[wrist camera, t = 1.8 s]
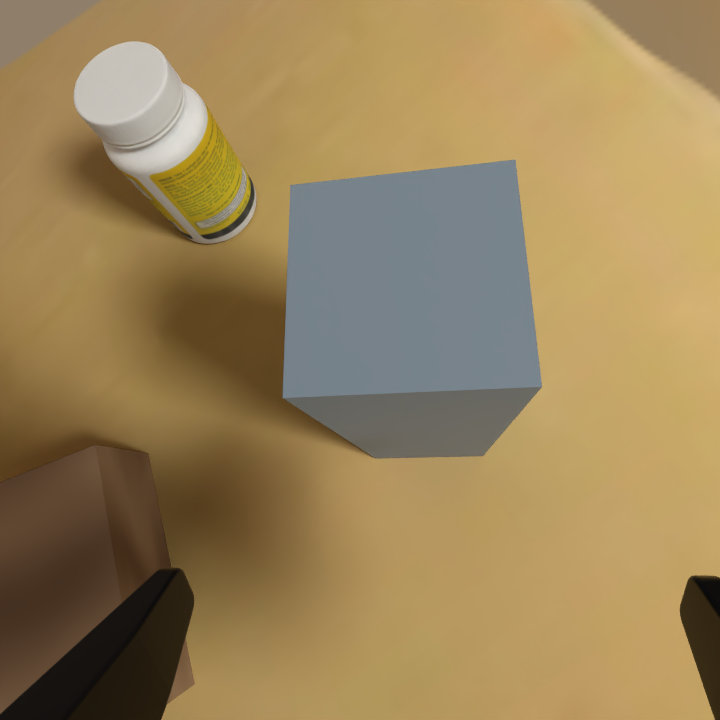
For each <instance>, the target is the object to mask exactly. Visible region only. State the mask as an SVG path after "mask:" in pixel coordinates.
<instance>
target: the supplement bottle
mask: <svg viewBox="0 0 720 720" xmlns="http://www.w3.org/2000/svg"><path fill="white" fill-rule="evenodd" d="M74 103H75V107H76V109H77V111H78V113H79V115H80V116H81V117H82V118H83V119H84V120H85V122H86V123H87V124H88V125H89V126H90V127H91V128H92V129H93V131H94V132H95V133H96V134H97V135H98V136H99V137H100V138H101V139H102V140H103V145H104V149H105V151H106V153H107V155H108V157H109V159H110V160H111V161H112V162H113V164H114V165H115V166H116V167H117V168H118V169H119V170H120V171H121V172H122V173H123V174H124V175H125V176H126V177H127V178H128V179H129V180H130V181H131V182H132V183H133V185H134V186H135V187H136V188H137V189H138V190H139V191H140V192H141V193H142V194H143V195H144V196H145V197H146V198H147V199H148V200H149V201H150V202H151V203H152V204H153V205H154V206H155V207H156V208H157V209H158V210H159V211H160V212H161V213H162V214H163V215H164V216H165V217H166V218H167V219H168V220H169V221H170V222H171V223H172V224H173V225H174V226H175V228H176V229H178V230H179V231H180V232H181V233H182V234H183V235H184V236H185V237H187V238H188V239H190V240H192V241H194V242H197V243H203V244H213V243H219V242H223V241H226V240H228V239H231V238H232V237H234V236H236V235H237V234H238V233H240V232H241V231H242V230H243V229H244V228H245V227H246V226H247V224H248V223H249V221H250V220H251V218H252V216H253V214H254V211H255V207H256V199H257V198H256V191H255V187H254V185H253V183H252V181H251V179H250V177H249V175H248V174H247V172H246V171H245V169H244V167H243V166H242V164H241V162H240V161H239V159H238V157H237V156H236V154H235V152H234V151H233V149H232V148H231V146H230V144H229V143H228V141H227V139H226V137H225V136H224V134H223V133H222V131H221V129H220V128H219V126H218V124H217V123H216V121H215V119H214V118H213V116H212V114H211V113H210V111H209V109H208V107H207V106H206V104H205V103H204V101H203V100H202V99H201V97H200V96H199V95H198V94H197V93H196V92H195V91H194V90H193V89H192V88H191V87H189V86H188V85H186V84H184V83H182V82H181V79H180V77H179V75H178V74H177V73H176V72H175V70H174V69H173V68H172V66H171V65H170V63H169V62H168V61H167V59H166V58H165V56H164V55H163V54H162V53H161V51H159V50H158V49H157V48H156V47H154V46H152V45H150V44H148V43H144V42H136V41H134V42H125V43H120V44H118V45H114V46H112V47H110V48H108V49H106V50H104V51H103V52H101V53H100V54H98V55H97V56H96V57H94V58H93V59H92V60H91V61H90V62H89V63H88V64H87V65H86V67H85V68H84V69H83V70H82V72H81V74H80V75H79V77H78V79H77V82H76V85H75V89H74Z"/></svg>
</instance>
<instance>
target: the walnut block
mask: <svg viewBox="0 0 720 720" xmlns="http://www.w3.org/2000/svg"><path fill="white" fill-rule="evenodd" d="M161 568H171V564H170V559H169V554H168V549H167V544H166V539H165V534H164V529H163V525H162V520H161V515H160V510H159V505H158V500H157V495H156V490H155V485H154V480H153V475H152V470H151V465H150V460H149V455H148V453H143V452H137V451H131V450H125V449H119V448H113V447H107V446H101V445H93V446H91V447H88V448H86V449H83V450H81V451H78V452H76V453H73V454H71V455H68V456H65V457H63V458H60V459H58V460H55V461H53V462H50V463H48V464H45V465H43V466H40V467H38V468H35V469H33V470H30V471H28V472H25V473H23V474H20V475H18V476H15V477H12V478H10V479H7V480H5V481H2V482H0V713H2V712H3V711H4V710H5V709H6V708H7V707H8V706H9V705H10V704H11V703H12V702H14V701H15V700H16V699H17V698H18V697H19V696H20V695H21V694H22V693H23V692H25V691H26V690H27V689H28V688H29V687H30V686H31V685H32V684H33V683H34V682H35V681H37V680H38V679H39V678H40V677H41V676H42V675H43V674H44V673H45V672H46V671H48V670H49V669H50V668H51V667H52V666H53V665H54V664H55V663H56V662H57V661H58V660H60V659H61V658H62V657H63V656H64V655H65V654H66V653H67V652H68V651H69V650H71V649H72V648H73V647H74V646H75V645H76V644H77V643H78V642H79V641H80V640H81V639H83V638H84V637H85V636H86V635H87V634H88V633H89V632H90V631H91V630H92V629H94V628H95V627H96V626H97V625H98V624H99V623H100V622H101V621H102V620H103V619H104V618H106V617H107V616H108V615H109V614H110V613H111V612H112V611H113V610H114V609H115V608H117V607H118V606H119V605H120V604H121V603H122V602H123V601H124V600H125V599H126V598H127V597H129V596H130V595H131V594H132V593H133V592H134V591H135V590H136V589H137V588H138V587H140V586H141V585H142V584H143V583H144V582H145V581H146V580H147V579H148V578H149V577H150V576H152V575H153V574H154V573H155V572H156V571H158V570H159V569H161ZM194 684H195V683H194V678H193V673H192V668H191V663H190V658H189V653H188V648H187V643H186V638H185V642H184V645H183V649H182V653H181V657H180V661H179V664H178V668H177V672H176V676H175V679H174V683H173V686H172V690H171V693H170V696H169V699H168V702H167V704H168V703H169V702H171V701H172V700H173V699H175V698H176V697H178V696H179V695H180V694H182V693H183V692H184V691H186V690H187V689H189V688H190V687H191V686H193V685H194Z"/></svg>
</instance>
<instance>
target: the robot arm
mask: <svg viewBox="0 0 720 720" xmlns="http://www.w3.org/2000/svg"><path fill="white" fill-rule="evenodd" d="M193 607H194V595H193V592H192V590H191V587H190V585H189V583H188V580H187V578H186V576H185V574H184V572H183V570H181V569H180V568H161V569H159V570H158V571H156V572H155V573H154V574H153V575H152V576H150V577H149V578H148V579H147V580H146V581H145V582H144V583H143V584H142V585H141V586H140V587H138V588H137V589H136V590H135V591H134V592H133V593H132V594H131V595H130V596H129V597H127V598H126V599H125V600H124V601H123V602H122V603H121V604H120V605H119V606H118V607H117V608H115V609H114V610H113V611H112V612H111V613H110V614H109V615H108V616H107V617H106V618H104V619H103V620H102V621H101V622H100V623H99V624H98V625H97V626H96V627H95V628H94V629H92V630H91V631H90V632H89V633H88V634H87V635H86V636H85V637H84V638H83V639H81V640H80V641H79V642H78V643H77V644H76V645H75V646H74V647H73V648H72V649H71V650H69V651H68V652H67V653H66V654H65V655H64V656H63V657H62V658H61V659H60V660H58V661H57V662H56V663H55V664H54V665H53V666H52V667H51V668H50V669H49V670H48V671H46V672H45V673H44V674H43V675H42V676H41V677H40V678H39V679H38V680H37V681H35V682H34V683H33V684H32V685H31V686H30V687H29V688H28V689H27V690H26V691H25V692H23V693H22V694H21V695H20V696H19V697H18V698H17V699H16V700H15V701H14V702H12V703H11V704H10V705H9V706H8V707H7V708H6V709H5V710H4V711H3V712H2V713H0V720H161V719H162V716H163V713H164V710H165V708H166V705H167V702H168V699H169V696H170V693H171V690H172V686H173V683H174V679H175V676H176V672H177V668H178V664H179V661H180V657H181V653H182V649H183V645H184V642H185V638H186V634H187V630H188V626H189V623H190V619H191V615H192V611H193ZM680 616H681V620H682V624H683V627H684V630H685V633H686V636H687V638H688V641H689V644H690V647H691V650H692V653H693V656H694V659H695V662H696V665H697V668H698V671H699V674H700V677H701V680H702V683H703V686H704V689H705V692H706V695H707V698H708V701H709V704H710V707H711V710H712V712H713V715H714V718H715V720H720V578H719V577H717V576H691V577H690V578H689V579H688V581H687V585H686V588H685V591H684V594H683V598H682V601H681V604H680Z"/></svg>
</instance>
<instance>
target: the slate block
mask: <svg viewBox="0 0 720 720" xmlns="http://www.w3.org/2000/svg"><path fill="white" fill-rule="evenodd" d="M541 387H542V383H541V375H540V366H539V358H538V349H537V340H536V332H535V323H534V315H533V306H532V298H531V289H530V281H529V272H528V264H527V255H526V247H525V238H524V230H523V221H522V212H521V204H520V195H519V187H518V178H517V170H516V161H515V160H509V161H500V162H491V163H482V164H473V165H465V166H456V167H447V168H438V169H429V170H420V171H412V172H403V173H394V174H385V175H376V176H367V177H358V178H350V179H341V180H332V181H323V182H314V183H305V184H297V185H291V188H290V215H289V241H288V267H287V294H286V320H285V346H284V373H283V399H285V400H286V401H288V402H289V403H291V404H293V405H294V406H296V407H297V408H299V409H300V410H302V411H303V412H305V413H306V414H308V415H309V416H311V417H313V418H314V419H316V420H317V421H319V422H320V423H322V424H323V425H325V426H326V427H328V428H329V429H331V430H333V431H334V432H336V433H337V434H339V435H340V436H342V437H343V438H345V439H346V440H348V441H349V442H351V443H353V444H354V445H356V446H357V447H359V448H360V449H362V450H363V451H365V452H366V453H368V454H369V455H371V456H373V457H374V458H417V457H461V456H483V455H484V454H485V453H486V452H487V451H488V450H489V448H490V447H491V446H492V445H493V444H494V442H495V441H496V440H497V439H498V438H499V437H500V435H501V434H502V433H503V432H504V431H505V430H506V428H507V427H508V426H509V425H510V424H511V423H512V421H513V420H514V419H515V418H516V417H517V415H518V414H519V413H520V412H521V411H522V410H523V408H524V407H525V406H526V405H527V404H528V403H529V401H530V400H531V399H532V398H533V397H534V396H535V394H536V393H537V392H538V391H539V390H540V388H541Z"/></svg>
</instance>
